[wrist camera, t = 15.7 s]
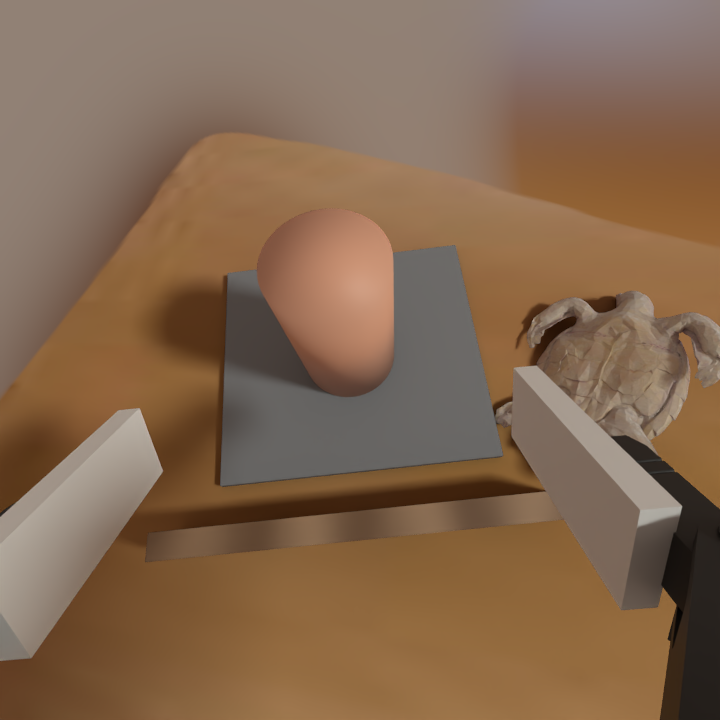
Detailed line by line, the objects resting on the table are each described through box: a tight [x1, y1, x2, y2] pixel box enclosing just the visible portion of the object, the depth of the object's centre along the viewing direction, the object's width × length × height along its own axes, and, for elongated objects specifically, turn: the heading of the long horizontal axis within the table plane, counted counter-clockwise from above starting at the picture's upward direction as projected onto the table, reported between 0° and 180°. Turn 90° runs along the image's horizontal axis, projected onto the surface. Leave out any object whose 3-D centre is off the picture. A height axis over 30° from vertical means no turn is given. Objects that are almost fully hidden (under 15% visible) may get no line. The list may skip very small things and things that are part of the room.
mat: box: [220, 245, 503, 487], centre depth 32 cm, size 20×18×1 cm
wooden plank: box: [145, 491, 564, 562], centre depth 25 cm, size 26×2×4 cm, turn 96°
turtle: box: [495, 291, 720, 455], centre depth 27 cm, size 16×10×10 cm, turn 171°
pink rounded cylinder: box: [257, 208, 394, 397], centre depth 26 cm, size 7×7×12 cm
